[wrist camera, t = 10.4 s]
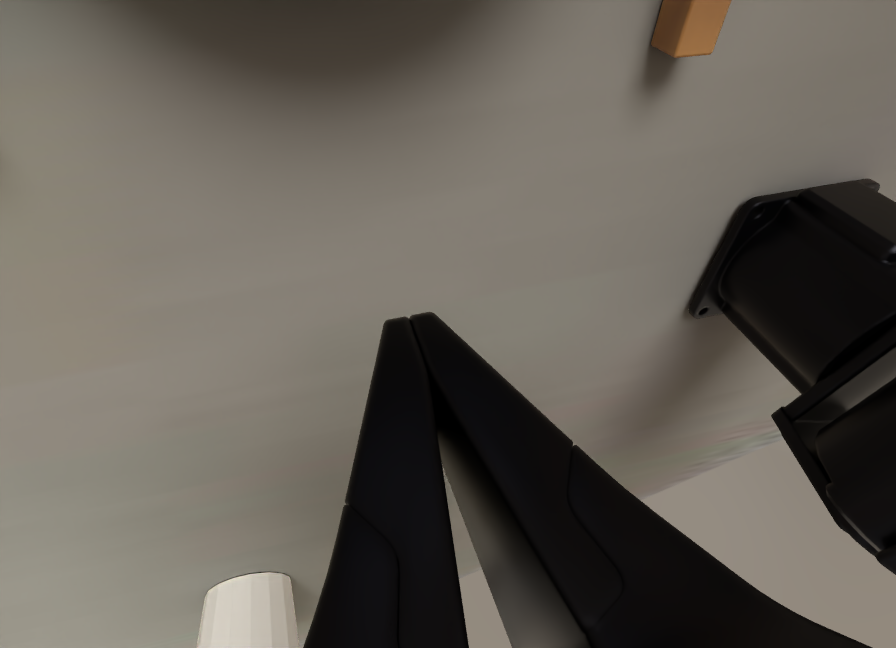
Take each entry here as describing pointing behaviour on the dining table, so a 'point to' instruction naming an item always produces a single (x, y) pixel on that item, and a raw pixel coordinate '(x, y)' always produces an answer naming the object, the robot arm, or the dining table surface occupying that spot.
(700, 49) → the pan rest
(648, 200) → the dining table surface
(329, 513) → the dining table surface
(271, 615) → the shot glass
